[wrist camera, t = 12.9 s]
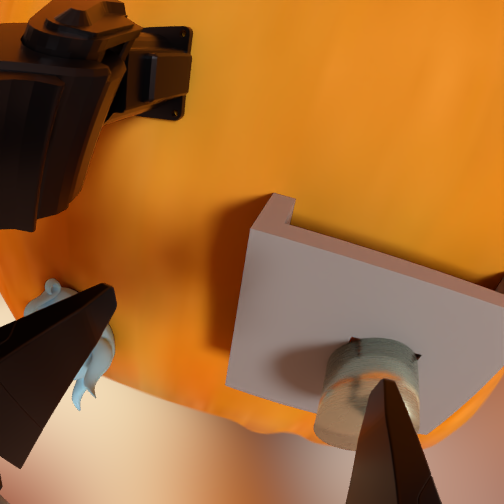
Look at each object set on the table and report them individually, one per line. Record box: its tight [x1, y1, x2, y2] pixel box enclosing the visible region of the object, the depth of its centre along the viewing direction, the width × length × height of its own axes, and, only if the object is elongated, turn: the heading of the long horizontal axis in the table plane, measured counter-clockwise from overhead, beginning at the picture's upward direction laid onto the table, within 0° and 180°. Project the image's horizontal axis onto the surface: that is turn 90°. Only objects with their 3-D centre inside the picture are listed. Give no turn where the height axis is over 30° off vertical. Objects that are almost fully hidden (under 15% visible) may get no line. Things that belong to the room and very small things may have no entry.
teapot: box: [24, 278, 115, 411], centre depth 34 cm, size 15×15×10 cm
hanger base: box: [225, 193, 504, 435], centre depth 21 cm, size 20×16×5 cm
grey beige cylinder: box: [314, 337, 420, 451], centre depth 19 cm, size 6×6×9 cm
